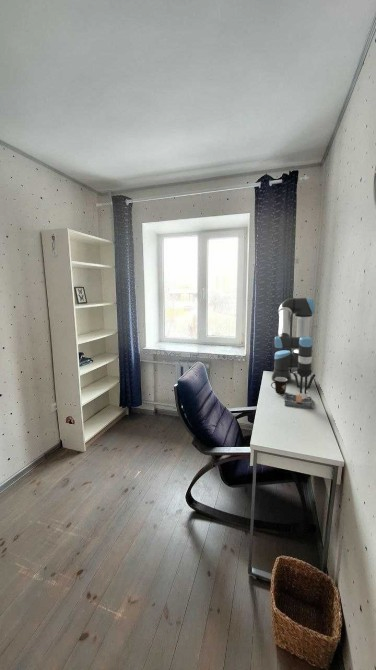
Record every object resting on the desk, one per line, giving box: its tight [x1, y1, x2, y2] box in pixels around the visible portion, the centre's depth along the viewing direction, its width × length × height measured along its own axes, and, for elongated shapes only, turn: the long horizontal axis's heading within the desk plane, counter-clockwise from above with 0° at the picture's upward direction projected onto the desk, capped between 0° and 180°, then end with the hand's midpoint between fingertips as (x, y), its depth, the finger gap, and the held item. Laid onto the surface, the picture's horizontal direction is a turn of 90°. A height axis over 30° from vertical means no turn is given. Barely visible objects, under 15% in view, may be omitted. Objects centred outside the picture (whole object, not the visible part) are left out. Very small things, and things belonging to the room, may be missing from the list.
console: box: [284, 393, 313, 410], centre depth 176 cm, size 14×16×3 cm
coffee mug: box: [270, 377, 288, 395], centre depth 191 cm, size 12×9×10 cm
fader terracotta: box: [295, 393, 302, 403], centre depth 172 cm, size 3×3×5 cm
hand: (302, 398), depth 171 cm, fingers closed
